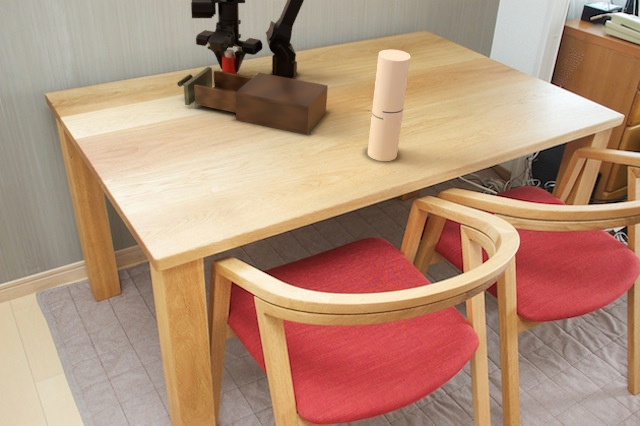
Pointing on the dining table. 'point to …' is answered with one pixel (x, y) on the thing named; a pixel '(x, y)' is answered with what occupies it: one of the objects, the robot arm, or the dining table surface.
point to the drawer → (213, 89)
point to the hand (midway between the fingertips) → (229, 70)
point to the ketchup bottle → (229, 62)
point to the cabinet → (281, 103)
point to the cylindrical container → (388, 104)
